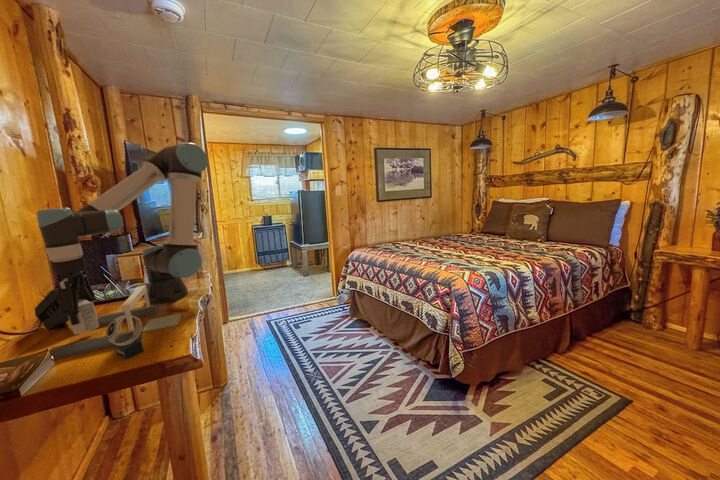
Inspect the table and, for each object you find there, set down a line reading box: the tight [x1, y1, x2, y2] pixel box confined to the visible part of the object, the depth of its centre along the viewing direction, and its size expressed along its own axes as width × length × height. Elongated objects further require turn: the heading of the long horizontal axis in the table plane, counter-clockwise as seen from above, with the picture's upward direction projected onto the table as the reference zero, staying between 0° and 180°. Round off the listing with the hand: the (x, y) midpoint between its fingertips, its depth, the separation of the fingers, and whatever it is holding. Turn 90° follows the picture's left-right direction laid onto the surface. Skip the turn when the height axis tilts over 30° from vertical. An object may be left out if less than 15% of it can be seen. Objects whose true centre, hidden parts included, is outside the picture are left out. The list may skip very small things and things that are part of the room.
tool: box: [34, 288, 81, 331], centre depth 105 cm, size 6×19×15 cm
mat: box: [142, 313, 183, 334], centre depth 103 cm, size 10×10×1 cm
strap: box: [120, 282, 151, 332], centre depth 100 cm, size 2×24×9 cm, turn 24°
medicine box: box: [78, 299, 100, 333], centre depth 95 cm, size 8×4×9 cm, turn 56°
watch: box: [105, 315, 145, 360], centre depth 83 cm, size 6×8×11 cm
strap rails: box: [48, 304, 158, 360], centre depth 98 cm, size 21×24×3 cm
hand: (86, 326), depth 95 cm, fingers closed on medicine box, 9 cm apart
